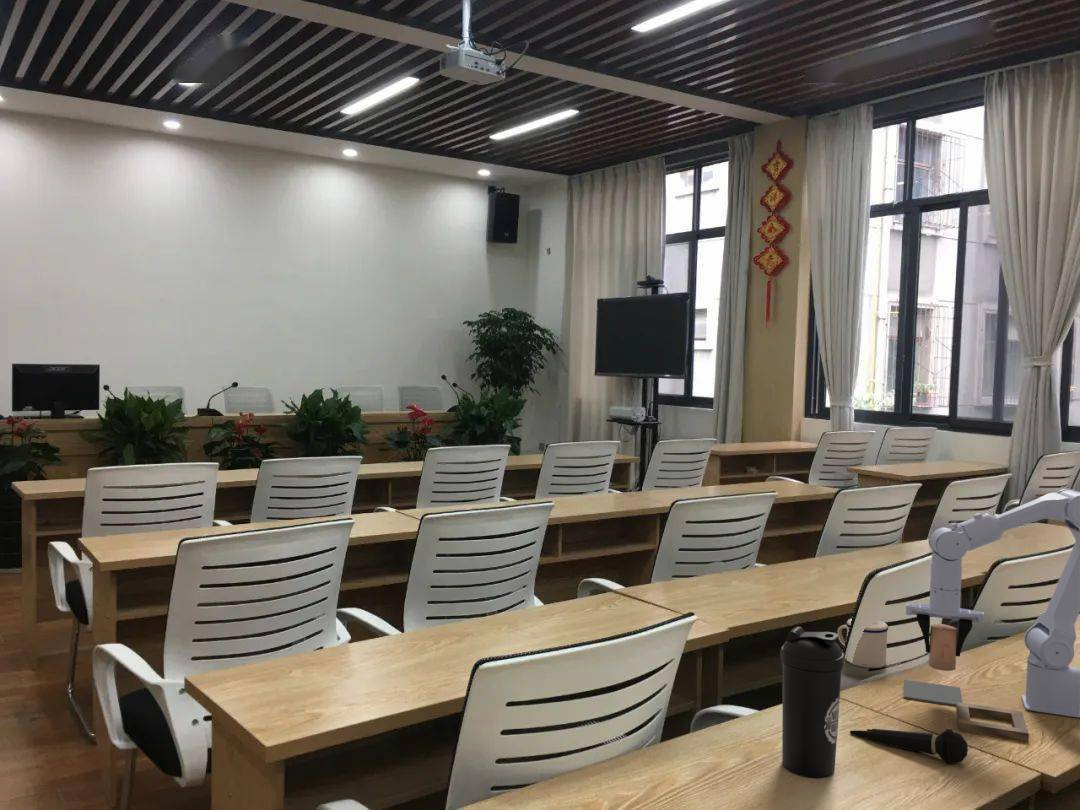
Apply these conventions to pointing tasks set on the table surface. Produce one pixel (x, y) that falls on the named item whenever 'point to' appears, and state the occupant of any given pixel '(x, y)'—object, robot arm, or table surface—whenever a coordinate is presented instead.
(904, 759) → the table surface
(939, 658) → the terracotta jug
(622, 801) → the table surface
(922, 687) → the rubber mat
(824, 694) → the water bottle
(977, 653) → the table surface
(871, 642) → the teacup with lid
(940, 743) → the microphone
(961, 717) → the walnut holder
